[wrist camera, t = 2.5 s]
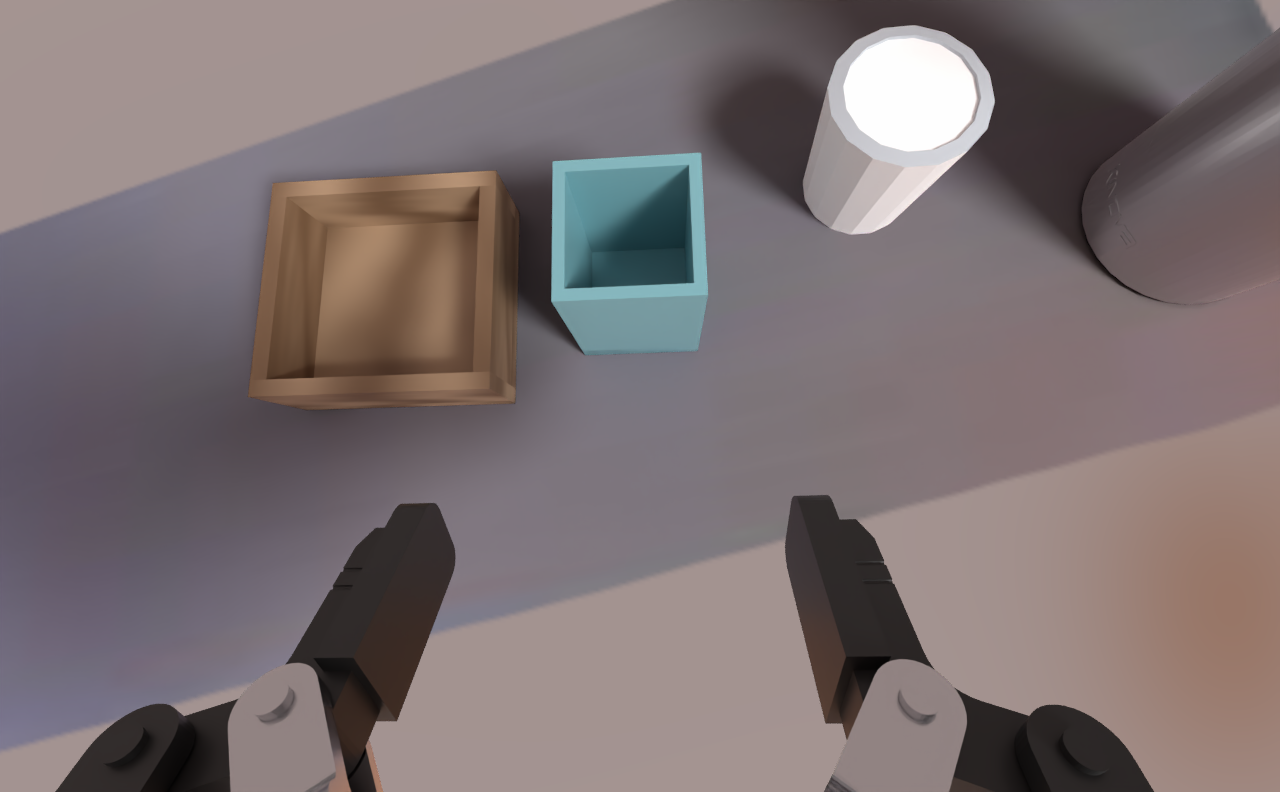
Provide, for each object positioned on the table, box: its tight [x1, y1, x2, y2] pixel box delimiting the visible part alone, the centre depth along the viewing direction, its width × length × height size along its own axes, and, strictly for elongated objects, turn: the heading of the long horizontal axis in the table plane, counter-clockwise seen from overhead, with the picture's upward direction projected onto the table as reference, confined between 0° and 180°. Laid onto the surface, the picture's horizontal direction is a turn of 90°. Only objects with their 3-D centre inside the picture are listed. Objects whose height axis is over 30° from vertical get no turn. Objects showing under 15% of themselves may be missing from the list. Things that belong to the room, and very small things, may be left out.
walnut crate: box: [248, 171, 519, 410], centre depth 27 cm, size 12×11×4 cm
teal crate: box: [551, 153, 708, 355], centre depth 24 cm, size 6×6×8 cm
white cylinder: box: [803, 25, 995, 234], centre depth 25 cm, size 7×7×7 cm
